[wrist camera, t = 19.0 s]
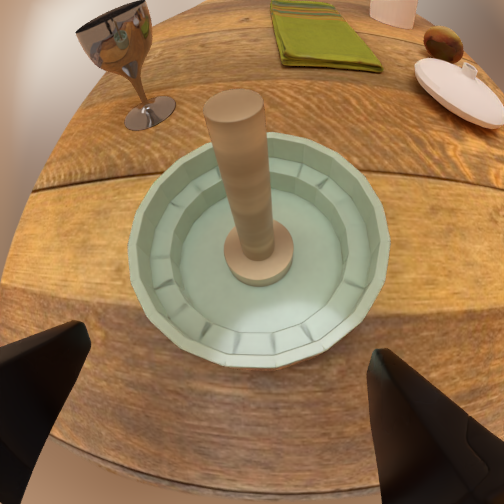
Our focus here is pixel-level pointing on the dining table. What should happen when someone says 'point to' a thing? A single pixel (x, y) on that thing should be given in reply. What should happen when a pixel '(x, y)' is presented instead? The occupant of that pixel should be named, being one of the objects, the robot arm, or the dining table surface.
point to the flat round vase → (460, 91)
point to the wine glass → (126, 56)
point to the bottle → (394, 12)
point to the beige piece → (248, 188)
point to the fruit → (443, 44)
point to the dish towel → (318, 37)
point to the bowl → (268, 297)
